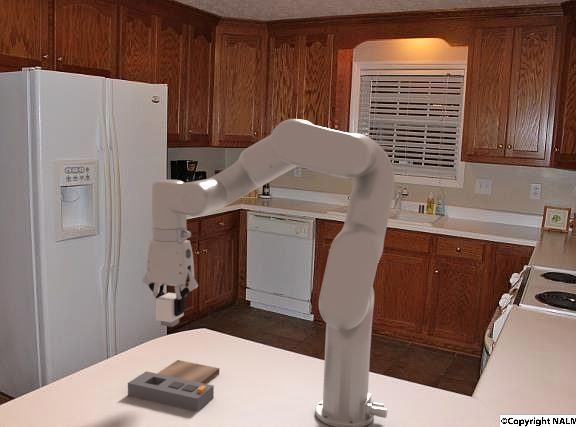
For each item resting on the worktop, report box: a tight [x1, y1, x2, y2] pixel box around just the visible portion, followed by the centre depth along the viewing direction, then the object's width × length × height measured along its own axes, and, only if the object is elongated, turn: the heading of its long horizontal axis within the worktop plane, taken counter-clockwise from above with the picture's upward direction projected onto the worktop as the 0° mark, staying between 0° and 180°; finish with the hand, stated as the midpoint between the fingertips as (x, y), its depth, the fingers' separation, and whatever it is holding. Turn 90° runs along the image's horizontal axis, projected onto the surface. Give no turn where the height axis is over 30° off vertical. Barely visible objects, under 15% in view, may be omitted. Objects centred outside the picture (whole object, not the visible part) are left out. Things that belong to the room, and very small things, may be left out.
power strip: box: [127, 370, 215, 413], centre depth 129 cm, size 18×7×4 cm, turn 68°
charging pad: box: [156, 359, 220, 384], centre depth 140 cm, size 12×10×2 cm
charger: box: [155, 292, 185, 328], centre depth 132 cm, size 4×6×6 cm
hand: (170, 312), depth 132 cm, fingers closed on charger, 4 cm apart
